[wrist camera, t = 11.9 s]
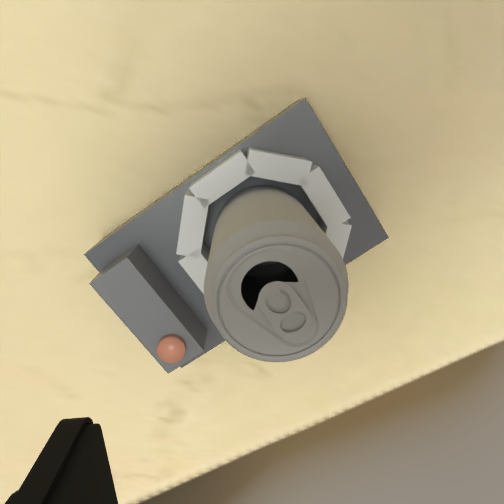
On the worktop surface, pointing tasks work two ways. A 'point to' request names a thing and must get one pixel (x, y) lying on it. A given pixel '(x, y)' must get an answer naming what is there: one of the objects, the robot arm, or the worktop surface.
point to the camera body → (203, 224)
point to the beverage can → (273, 277)
